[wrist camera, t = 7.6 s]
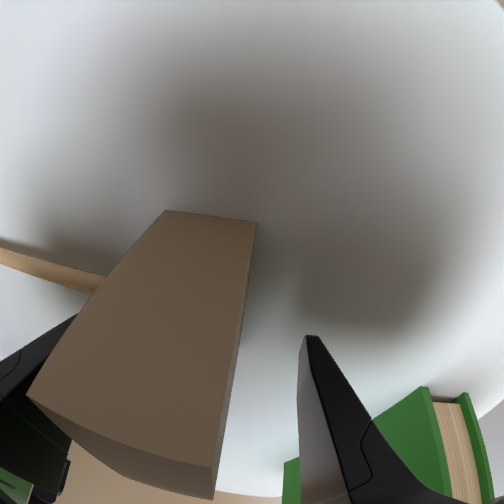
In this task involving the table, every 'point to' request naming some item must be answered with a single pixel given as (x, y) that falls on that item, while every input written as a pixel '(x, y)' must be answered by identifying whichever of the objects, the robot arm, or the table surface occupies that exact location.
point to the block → (152, 351)
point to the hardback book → (428, 448)
